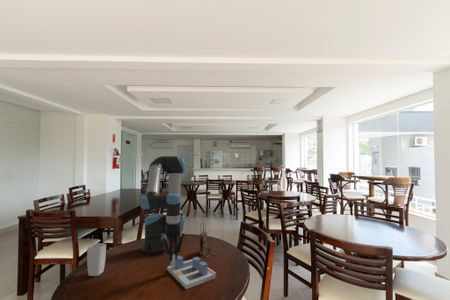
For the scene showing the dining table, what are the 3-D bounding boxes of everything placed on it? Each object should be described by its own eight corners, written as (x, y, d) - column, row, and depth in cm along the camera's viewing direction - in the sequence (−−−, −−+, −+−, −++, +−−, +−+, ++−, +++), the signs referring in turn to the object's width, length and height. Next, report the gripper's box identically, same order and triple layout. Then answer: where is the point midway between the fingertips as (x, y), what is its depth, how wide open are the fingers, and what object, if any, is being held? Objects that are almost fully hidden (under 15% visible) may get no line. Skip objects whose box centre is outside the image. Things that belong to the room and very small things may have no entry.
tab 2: (192, 267, 123) (192, 258, 123) (197, 265, 125) (197, 256, 125) (195, 270, 120) (195, 260, 120) (200, 268, 121) (200, 259, 122)
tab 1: (175, 266, 124) (175, 256, 125) (180, 264, 126) (180, 255, 126) (178, 268, 121) (178, 259, 121) (183, 267, 123) (183, 258, 123)
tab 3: (198, 272, 117) (198, 262, 117) (203, 270, 119) (203, 261, 119) (202, 275, 114) (202, 265, 114) (207, 273, 116) (207, 263, 116)
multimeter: (213, 258, 138) (213, 226, 139) (197, 257, 140) (197, 225, 141) (218, 249, 153) (218, 220, 154) (204, 248, 155) (204, 219, 156)
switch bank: (167, 270, 124) (167, 265, 124) (194, 261, 134) (194, 257, 134) (186, 289, 106) (186, 283, 106) (215, 278, 116) (215, 272, 116)
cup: (84, 277, 116) (85, 248, 117) (94, 270, 124) (94, 243, 124) (98, 278, 116) (99, 248, 117) (106, 271, 123) (107, 243, 124)
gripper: (164, 226, 116) (163, 272, 115) (187, 222, 123) (186, 265, 122) (159, 222, 122) (158, 267, 121) (181, 219, 129) (181, 260, 128)
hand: (172, 266), depth 122 cm, fingers closed
